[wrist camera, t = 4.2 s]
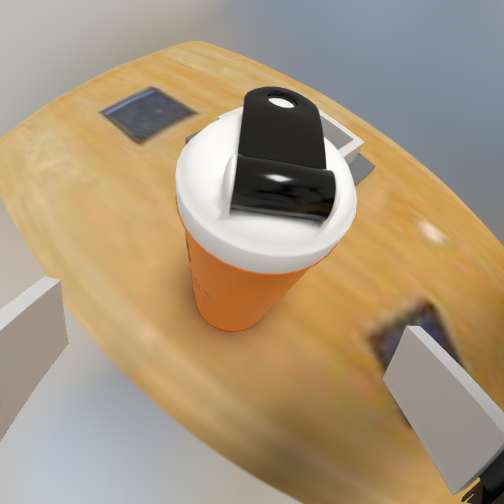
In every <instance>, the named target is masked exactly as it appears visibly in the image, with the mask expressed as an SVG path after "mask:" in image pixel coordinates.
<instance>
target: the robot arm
mask: <svg viewBox="0 0 504 504" xmlns="http://www.w3.org/2000/svg"><path fill="white" fill-rule="evenodd" d="M67 345H68V339H67V332H66V325H65V318H64V310H63V301H62V290H61V280H57V279H53V278H49V277H43V278H42V279H41V280H40V281H38V282H36V283H35V284H34V285H32V286H31V287H30V288H28V289H27V290H25V291H24V292H23V293H22V294H20V295H19V296H17V297H16V298H15V299H13V300H12V301H11V302H10V303H8V304H7V305H6V306H4V307H3V308H2V309H1V310H0V442H1V440H2V438H3V437H4V435H5V433H6V432H7V430H8V429H9V427H10V425H11V424H12V422H13V421H14V419H15V417H16V416H17V414H18V413H19V411H20V410H21V408H22V407H23V405H24V404H25V403H26V401H27V399H28V398H29V397H30V395H31V394H32V392H33V391H34V389H35V388H36V387H37V385H38V384H39V382H40V381H41V380H42V378H43V377H44V375H45V374H46V373H47V371H48V370H49V368H50V367H51V366H52V364H53V363H54V362H55V360H56V359H57V358H58V357H59V355H60V354H61V353H62V351H63V350H64V349H65V347H66V346H67ZM382 380H383V382H384V383H385V385H386V386H387V388H388V390H389V391H390V393H391V394H392V396H393V397H394V399H395V400H396V402H397V404H398V405H399V407H400V408H401V410H402V412H403V413H404V415H405V416H406V418H407V420H408V421H409V423H410V424H411V426H412V428H413V429H414V431H415V432H416V434H417V436H418V437H419V439H420V441H421V442H422V444H423V446H424V447H425V449H426V451H427V452H428V454H429V456H430V457H431V459H432V461H433V462H434V464H435V466H436V467H437V469H438V471H439V473H440V474H441V476H442V478H443V480H444V481H445V483H446V485H447V487H448V488H449V490H450V492H451V494H452V495H454V494H456V493H458V492H460V491H462V490H464V489H466V488H467V487H468V486H469V485H470V484H472V483H473V482H474V481H475V480H476V479H477V478H478V477H479V478H480V481H479V482H478V483H477V484H476V485H475V486H474V487H473V488H472V489H471V490H470V491H469V492H467V493H466V494H465V495H464V496H463V498H462V501H461V502H464V501H465V500H466V499H468V498H469V497H470V496H471V495H472V494H474V495H473V496H472V497H471V498H470V499H469V500H468V501H467V503H471V504H504V412H503V411H502V410H501V409H500V408H499V407H498V406H497V405H496V404H495V402H494V401H493V400H492V399H491V398H490V397H489V396H488V395H487V394H486V393H485V391H484V390H483V389H482V388H481V387H480V386H479V385H478V384H477V383H476V382H475V381H474V380H473V379H472V378H471V377H470V376H469V375H468V373H467V372H466V371H465V370H464V369H463V368H462V367H461V366H460V365H459V364H458V363H457V362H456V361H455V360H454V359H453V358H452V357H451V356H450V355H449V354H448V353H447V352H446V351H445V350H444V349H443V348H442V347H441V346H440V345H439V344H438V343H437V342H436V341H435V340H434V339H433V338H432V337H431V336H430V335H429V334H428V333H426V332H425V331H424V330H423V329H422V328H421V327H420V326H406V328H405V330H404V333H403V335H402V338H401V340H400V342H399V345H398V347H397V349H396V351H395V353H394V356H393V358H392V360H391V362H390V364H389V366H388V368H387V370H386V373H385V375H384V377H383V379H382Z"/></svg>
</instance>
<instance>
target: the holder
mask: <svg viewBox="0 0 504 504" xmlns="http://www.w3.org/2000/svg"><path fill="white" fill-rule="evenodd" d="M318 110H319V109H318ZM242 113H243V106H242V107H240V108H237V109H235V110H232V111H230V112H228V113H225V114H223V115H220V116H218V117H217V120H219V119H221V118H224V117H228V116H231V115H235V114H242ZM319 113H320V118H321V123H322V128H323V135H324V137H325V138H326V139H327V140H328V141H330V142H331V143H332V144H333V145H334V146H335V147H336V149H337V150H338V151H339V152H340V153H341V155H342V156H343V158H344V159H345V161H346V163H347V165H348V167H349V169H350V172H351V175H352V178H353V181H354V186H356V185H357V184H358V183H359V182H360V181H362V180H363V179H364V178H365V177H366V176H367V175H368V174H369V173H370V172H371V171H372V170H373V169H374V167H375V165H373V164H372V163H371V162H370V161H369V160H367V159H366V158H365V157H364V156H362V155H361V154H360V153H359V151H360V149H361V147H362V146H363V144H364V141H362V140H361V139H360V138H358V137H357V136H356V135H354V134H353V133H352V132H350V131H349V130H348V129H346V128H345V127H344V126H342V125H341V124H340V123H338V122H337V121H335V120H334V119H332V118H331V117H330V116H328V115H327V114H325V113H324V112H322V111H321V110H319ZM201 131H202V130H201ZM199 132H200V131H199ZM199 132H197V133H195V134H193V135H191V136H189V137H187V138H186V144H188V142H189V141H190V140H191V139H192V138H193V137H194V136H196V135H197V134H198V133H199Z"/></svg>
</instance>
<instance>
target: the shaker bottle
mask: <svg viewBox="0 0 504 504" xmlns="http://www.w3.org/2000/svg"><path fill="white" fill-rule="evenodd" d="M175 179H176V204H177V211H178V214H179V217H180V219H181V222H182V224H183V227H184V228H185V235H186V243H187V249H188V256H189V263H190V269H191V275H192V281H193V287H194V293H195V299H196V304H197V307H198V309H199V312H200V313H201V315H202V316H203V318H204V319H205V320H206V321H207V322H208V323H210V324H211V325H213V326H214V327H216V328H219V329H221V330H225V331H240V330H245V329H247V328H249V327H251V326H253V325H254V324H255V323H257V322H258V321H259V320H260V319H261V318H262V317H263V316H264V315H265V314H266V313H267V312H268V311H269V310H270V309H271V308H272V307H273V306H274V305H275V304H276V303H277V302H278V301H279V300H280V299H281V297H282V296H283V295H284V294H285V293H286V292H287V291H288V290H289V289H290V288H291V287H292V286H293V285H294V284H295V283H296V282H297V281H298V280H299V279H300V278H301V277H302V276H303V275H304V274H305V272H306V271H307V270H308V269H309V268H310V267H312V266H315V265H316V264H317V263H319V262H320V261H322V260H323V259H324V258H326V257H327V256H328V255H329V254H330V253H331V251H332V250H333V249H334V248H335V247H336V245H337V243H338V241H339V240H340V239H341V238H342V236H343V235H344V234H345V233H346V231H347V230H348V229H349V228H350V226H351V223H352V221H353V219H354V216H355V212H356V205H357V199H356V190H355V186H354V181H353V178H352V175H351V172H350V169H349V167H348V165H347V163H346V161H345V159H344V158H343V156H342V155H341V153H340V152H339V151H338V150H337V149H336V147H335V146H334V145H333V144H332V143H331V142H330V141H328V140H327V139H326V138H325V137H324V135H323V128H322V123H321V118H320V113H319V110H318V108H317V107H316V105H314V104H313V103H312V102H311V101H310V100H308V99H307V98H305V97H304V96H302V95H300V94H298V93H296V92H294V91H291V90H289V89H285V88H280V87H261V88H257V89H254V90H252V91H250V92H248V93H247V94H246V95H245V97H244V105H243V113H242V114H235V115H231V116H228V117H224V118H221V119H219V120H217V121H215V122H213V123H211V124H209V125H208V126H207V127H206V128H204V129H203V130H202V131H200V132H199V133H198V134H197V135H196V136H194V137H193V138H192V139H191V140H190V141H189V142H188V144H187V145H186V146H185V147H184V149H183V150H182V152H181V154H180V157H179V159H178V161H177V167H176V174H175Z"/></svg>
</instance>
